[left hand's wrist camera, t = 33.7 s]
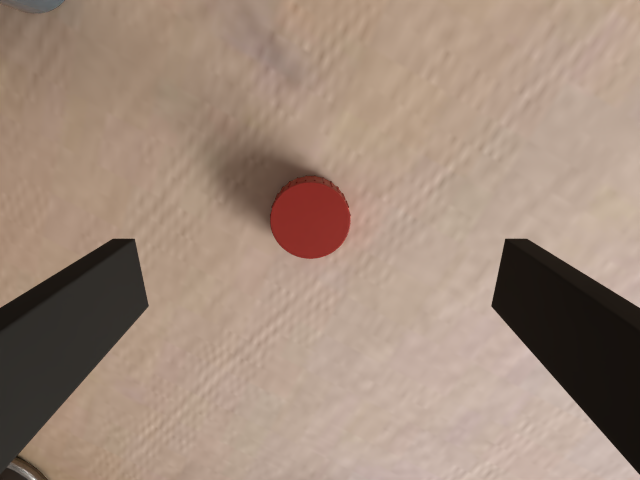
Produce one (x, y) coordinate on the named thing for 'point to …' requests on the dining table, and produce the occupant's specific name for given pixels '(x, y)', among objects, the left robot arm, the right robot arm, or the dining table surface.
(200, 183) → the dining table surface
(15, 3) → the bottle
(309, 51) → the dining table surface
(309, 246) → the cap
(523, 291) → the left robot arm
